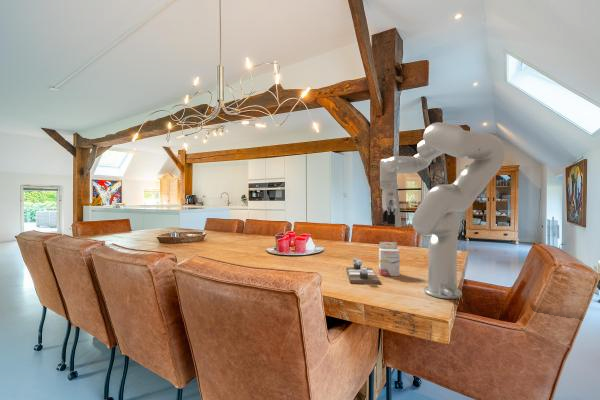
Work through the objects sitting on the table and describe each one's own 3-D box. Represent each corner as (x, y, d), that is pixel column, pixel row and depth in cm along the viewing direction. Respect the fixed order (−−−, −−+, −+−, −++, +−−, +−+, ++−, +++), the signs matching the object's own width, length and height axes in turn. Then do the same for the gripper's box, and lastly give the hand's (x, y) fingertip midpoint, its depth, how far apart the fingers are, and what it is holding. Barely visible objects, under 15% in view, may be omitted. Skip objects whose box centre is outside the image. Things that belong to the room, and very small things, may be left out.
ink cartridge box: (380, 275, 132) (380, 243, 132) (378, 273, 137) (378, 241, 137) (400, 276, 131) (399, 243, 131) (397, 273, 136) (397, 241, 136)
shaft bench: (379, 283, 120) (379, 269, 120) (350, 283, 121) (349, 269, 121) (371, 270, 141) (371, 258, 141) (346, 270, 142) (346, 258, 142)
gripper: (401, 184, 124) (401, 224, 125) (392, 186, 142) (392, 221, 142) (383, 185, 125) (384, 224, 125) (376, 186, 142) (377, 221, 143)
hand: (388, 222), depth 134 cm, fingers open, 9 cm apart
